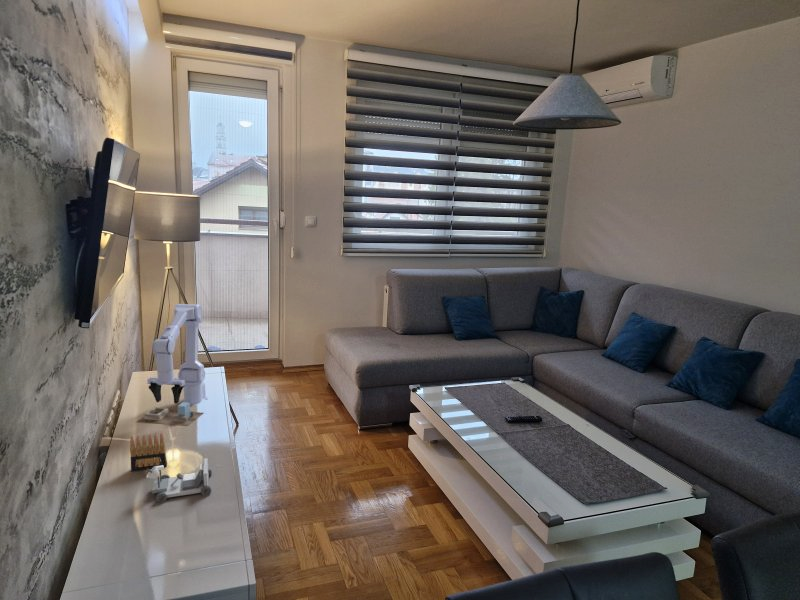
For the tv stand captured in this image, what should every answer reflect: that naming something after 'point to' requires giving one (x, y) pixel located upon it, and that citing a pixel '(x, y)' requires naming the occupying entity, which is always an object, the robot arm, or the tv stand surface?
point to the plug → (184, 410)
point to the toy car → (180, 482)
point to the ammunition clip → (147, 453)
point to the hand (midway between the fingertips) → (167, 402)
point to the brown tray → (168, 417)
